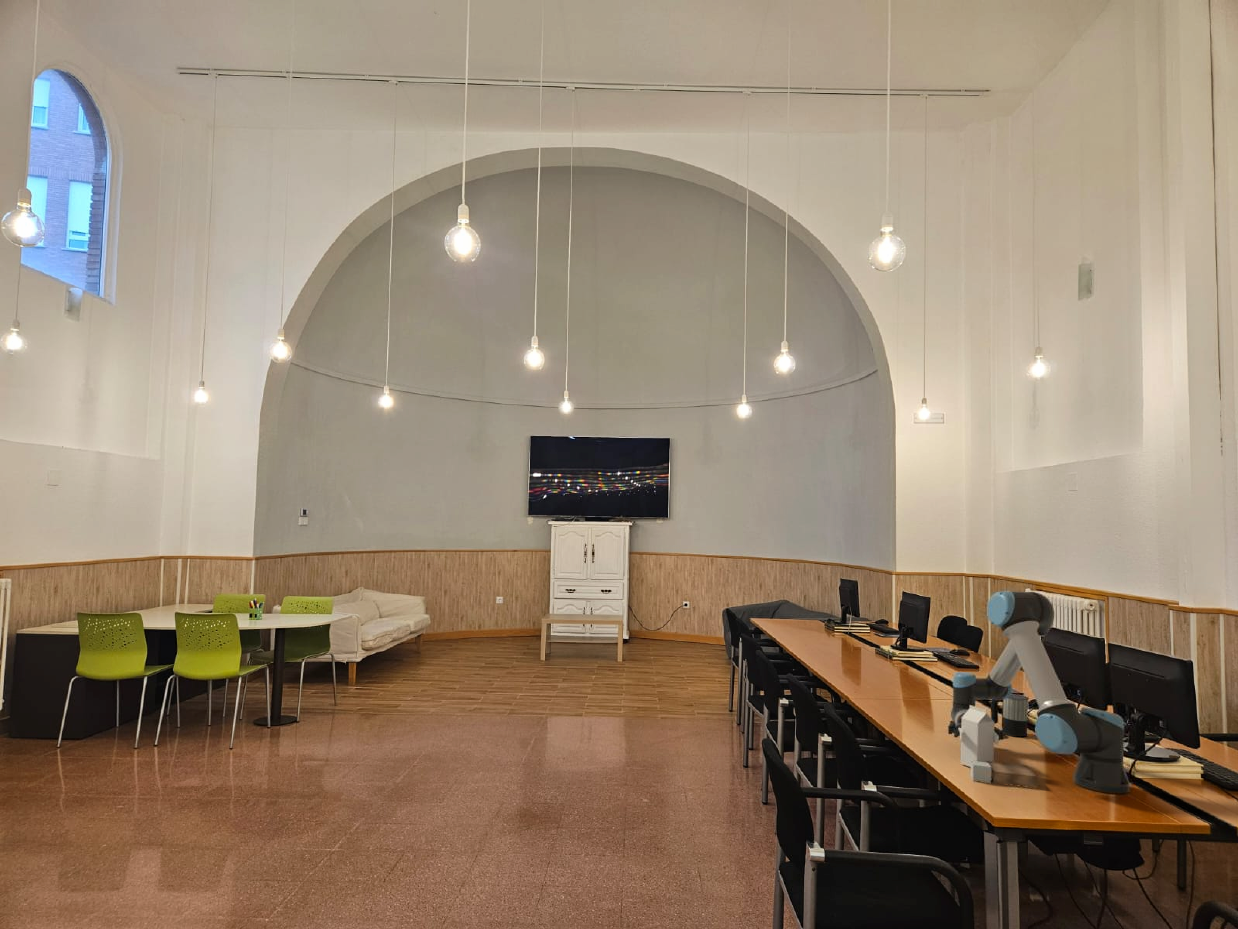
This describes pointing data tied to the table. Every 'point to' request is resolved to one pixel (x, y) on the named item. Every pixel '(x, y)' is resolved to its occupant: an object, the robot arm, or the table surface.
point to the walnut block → (1012, 774)
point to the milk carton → (977, 736)
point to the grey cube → (980, 771)
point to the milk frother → (1012, 715)
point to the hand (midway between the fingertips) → (979, 738)
